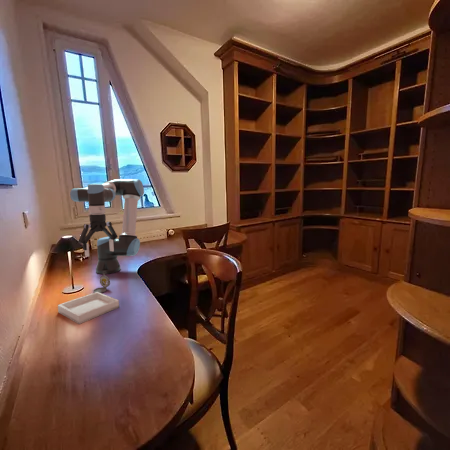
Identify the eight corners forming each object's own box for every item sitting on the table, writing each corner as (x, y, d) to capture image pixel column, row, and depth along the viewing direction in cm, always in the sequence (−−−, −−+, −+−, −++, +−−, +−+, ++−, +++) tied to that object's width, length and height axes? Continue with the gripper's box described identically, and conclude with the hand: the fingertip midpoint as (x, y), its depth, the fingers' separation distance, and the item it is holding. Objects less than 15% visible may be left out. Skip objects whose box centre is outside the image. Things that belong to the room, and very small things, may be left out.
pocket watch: (92, 294, 131) (90, 275, 130) (95, 288, 139) (94, 271, 138) (109, 292, 133) (107, 274, 132) (111, 287, 141) (110, 269, 140)
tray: (97, 298, 126) (97, 291, 126) (119, 307, 116) (118, 300, 116) (58, 312, 111) (57, 305, 111) (79, 324, 101) (78, 316, 101)
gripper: (76, 216, 119) (79, 259, 121) (123, 212, 139) (125, 249, 142) (68, 215, 123) (71, 257, 125) (115, 212, 143) (117, 248, 146)
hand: (100, 253), depth 134 cm, fingers open, 13 cm apart
